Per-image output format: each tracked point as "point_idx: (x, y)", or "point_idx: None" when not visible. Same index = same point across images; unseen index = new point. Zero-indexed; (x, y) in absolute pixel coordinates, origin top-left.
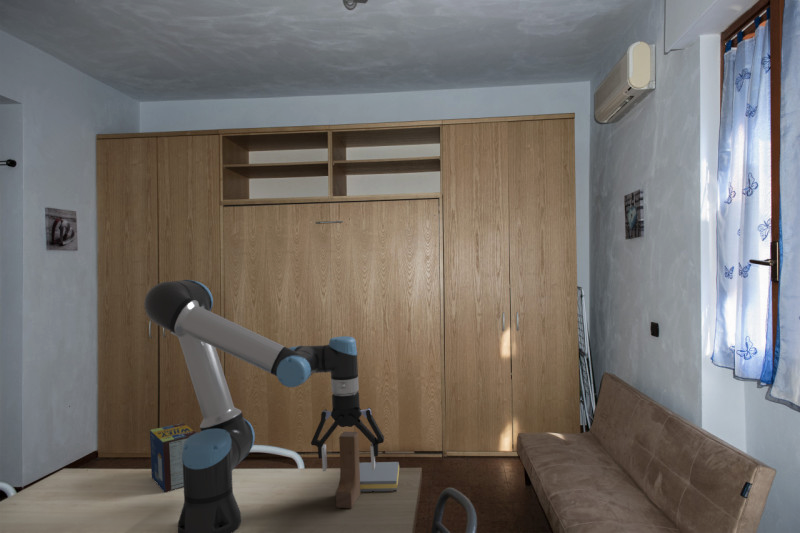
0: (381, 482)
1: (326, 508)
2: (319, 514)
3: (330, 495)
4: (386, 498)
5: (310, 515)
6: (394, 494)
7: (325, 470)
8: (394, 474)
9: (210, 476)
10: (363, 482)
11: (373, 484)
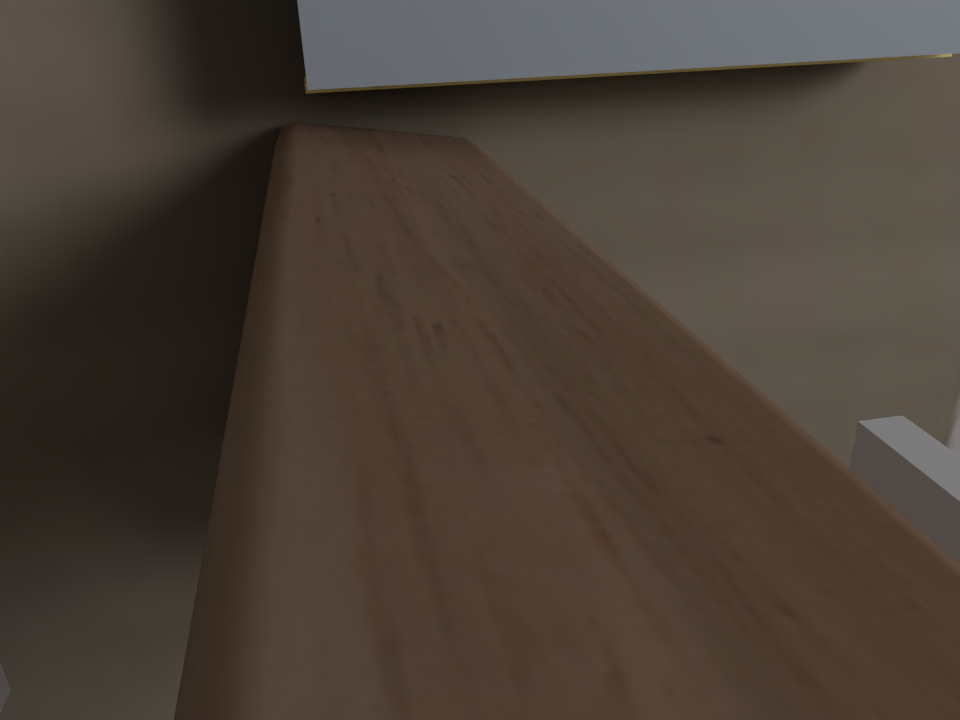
0: (780, 62)
1: (167, 485)
2: (141, 594)
3: (84, 185)
4: (767, 229)
5: (55, 621)
6: (855, 130)
7: (2, 687)
8: None
9: None
10: (535, 72)
11: (664, 72)
